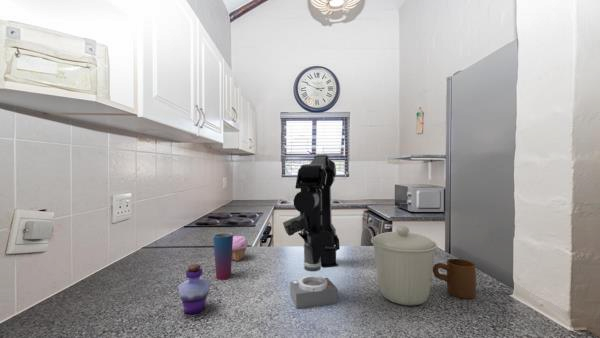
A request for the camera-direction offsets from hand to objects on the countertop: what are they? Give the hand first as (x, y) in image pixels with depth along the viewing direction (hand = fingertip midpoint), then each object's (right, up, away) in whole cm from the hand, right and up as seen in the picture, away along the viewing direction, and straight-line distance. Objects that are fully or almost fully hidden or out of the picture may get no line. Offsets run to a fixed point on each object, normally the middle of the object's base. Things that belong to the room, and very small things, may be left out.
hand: (312, 260), depth 78 cm
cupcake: (-31, -12, +35) cm, 48 cm away
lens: (0, -2, 0) cm, 2 cm away
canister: (+27, -11, +1) cm, 29 cm away
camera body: (0, -11, 0) cm, 11 cm away
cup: (-31, -12, +17) cm, 37 cm away
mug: (+43, -11, +3) cm, 44 cm away
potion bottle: (-33, -12, -5) cm, 35 cm away
